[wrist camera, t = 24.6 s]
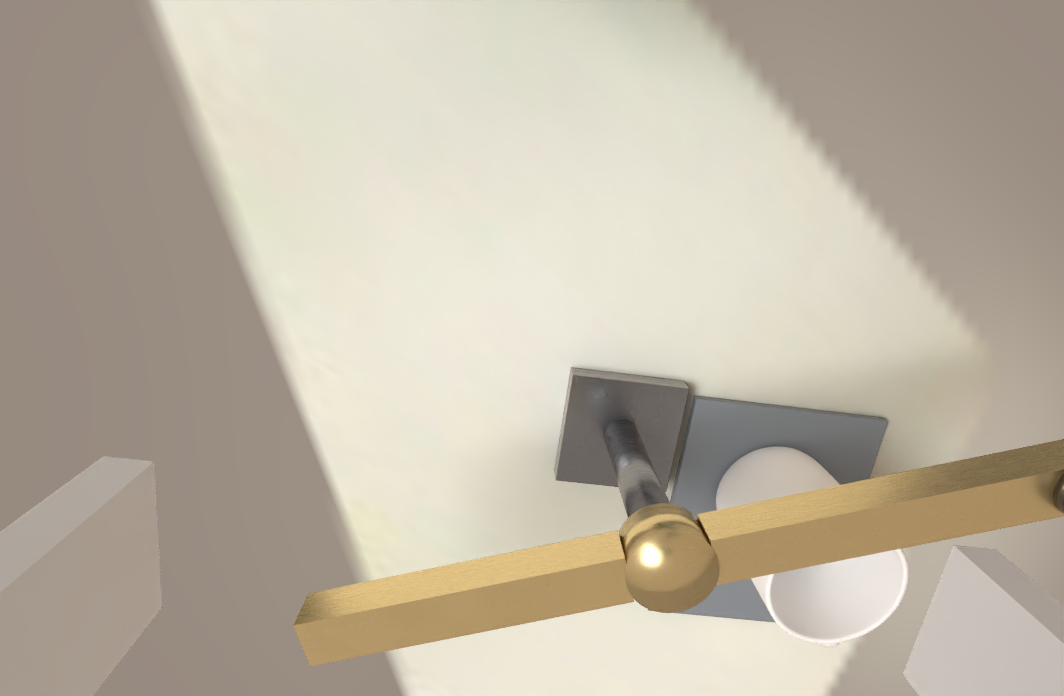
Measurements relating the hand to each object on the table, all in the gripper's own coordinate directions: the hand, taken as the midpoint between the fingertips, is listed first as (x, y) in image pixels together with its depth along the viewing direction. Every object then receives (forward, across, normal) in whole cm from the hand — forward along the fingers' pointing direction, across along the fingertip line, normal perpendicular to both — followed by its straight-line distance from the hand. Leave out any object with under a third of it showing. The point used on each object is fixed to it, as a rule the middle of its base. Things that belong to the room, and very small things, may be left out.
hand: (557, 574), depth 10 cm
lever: (+18, +9, -11) cm, 23 cm away
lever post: (+32, +8, -11) cm, 34 cm away
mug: (+31, +21, -16) cm, 41 cm away
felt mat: (+32, +20, -17) cm, 41 cm away
